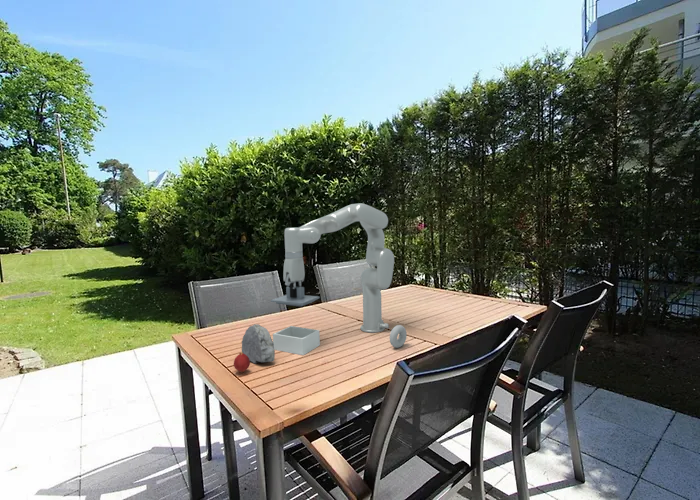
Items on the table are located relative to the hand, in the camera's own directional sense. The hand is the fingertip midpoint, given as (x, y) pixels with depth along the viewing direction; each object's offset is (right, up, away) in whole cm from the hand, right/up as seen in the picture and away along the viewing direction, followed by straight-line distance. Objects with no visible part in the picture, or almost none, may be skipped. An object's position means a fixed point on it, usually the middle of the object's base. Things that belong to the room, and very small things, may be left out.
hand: (295, 296), depth 154 cm
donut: (+46, -22, -1) cm, 51 cm away
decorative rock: (-13, -25, -13) cm, 31 cm away
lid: (0, -3, 0) cm, 3 cm away
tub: (0, -23, +1) cm, 23 cm away
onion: (-16, -26, -24) cm, 39 cm away
